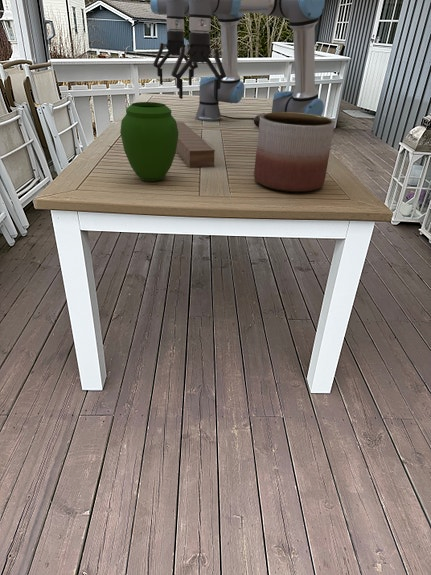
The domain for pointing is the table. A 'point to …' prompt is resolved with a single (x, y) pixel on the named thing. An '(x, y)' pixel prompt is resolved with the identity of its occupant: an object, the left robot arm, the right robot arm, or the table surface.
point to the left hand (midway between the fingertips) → (175, 84)
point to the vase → (149, 139)
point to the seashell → (257, 119)
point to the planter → (293, 151)
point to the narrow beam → (193, 148)
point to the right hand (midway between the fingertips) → (198, 98)
